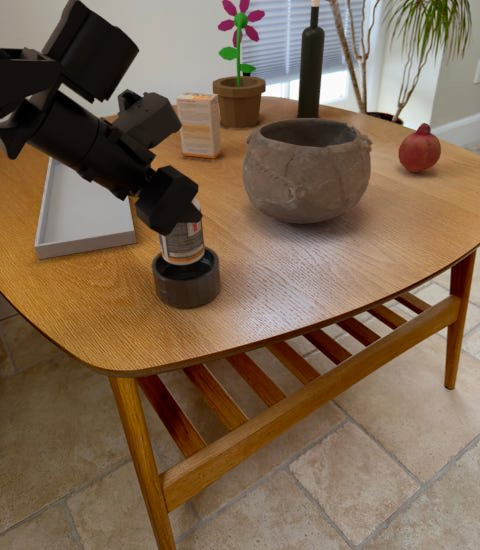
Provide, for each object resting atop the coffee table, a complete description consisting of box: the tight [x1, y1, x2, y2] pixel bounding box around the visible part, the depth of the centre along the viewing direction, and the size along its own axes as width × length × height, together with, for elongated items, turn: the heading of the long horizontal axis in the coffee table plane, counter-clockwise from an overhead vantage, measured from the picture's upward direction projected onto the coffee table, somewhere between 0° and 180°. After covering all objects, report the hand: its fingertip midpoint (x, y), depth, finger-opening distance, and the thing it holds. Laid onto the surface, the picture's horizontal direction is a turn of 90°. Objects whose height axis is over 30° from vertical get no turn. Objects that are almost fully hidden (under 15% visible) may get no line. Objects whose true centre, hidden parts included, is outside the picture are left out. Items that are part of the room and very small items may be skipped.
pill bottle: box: [157, 196, 205, 265], centre depth 54 cm, size 6×6×10 cm
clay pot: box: [241, 117, 373, 225], centre depth 73 cm, size 21×21×15 cm
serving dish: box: [33, 156, 137, 260], centre depth 84 cm, size 15×39×2 cm, turn 16°
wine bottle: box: [297, 0, 326, 119], centre depth 113 cm, size 6×6×30 cm
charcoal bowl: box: [150, 245, 222, 309], centre depth 60 cm, size 9×9×4 cm
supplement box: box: [175, 92, 222, 159], centre depth 97 cm, size 8×5×13 cm, turn 71°
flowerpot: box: [212, 0, 267, 129], centre depth 111 cm, size 14×14×30 cm
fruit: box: [397, 122, 442, 173], centre depth 87 cm, size 8×8×10 cm
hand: (188, 209), depth 54 cm, fingers closed on pill bottle, 6 cm apart
